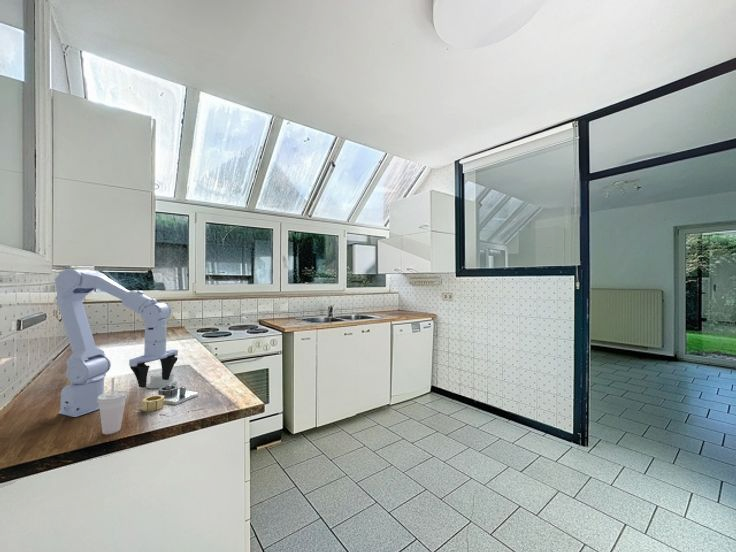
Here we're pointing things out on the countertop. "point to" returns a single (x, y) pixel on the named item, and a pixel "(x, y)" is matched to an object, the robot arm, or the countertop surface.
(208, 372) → the countertop surface
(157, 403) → the brass ring
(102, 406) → the smoothie
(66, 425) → the countertop surface
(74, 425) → the countertop surface
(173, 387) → the piston block
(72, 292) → the robot arm
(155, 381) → the mechanical component
